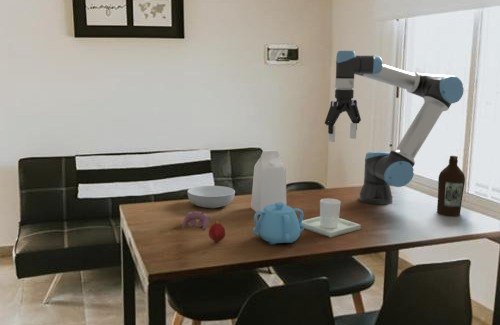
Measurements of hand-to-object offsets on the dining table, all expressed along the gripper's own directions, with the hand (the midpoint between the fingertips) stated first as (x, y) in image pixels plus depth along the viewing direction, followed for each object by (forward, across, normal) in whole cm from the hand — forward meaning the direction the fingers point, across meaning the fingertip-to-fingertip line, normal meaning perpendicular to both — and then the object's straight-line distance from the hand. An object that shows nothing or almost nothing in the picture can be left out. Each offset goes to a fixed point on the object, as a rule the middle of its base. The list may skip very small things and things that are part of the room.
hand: (342, 140), depth 227 cm
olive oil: (+32, +36, -30) cm, 57 cm away
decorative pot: (+31, -46, -11) cm, 57 cm away
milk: (+31, -24, +20) cm, 43 cm away
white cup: (+30, -21, -12) cm, 39 cm away
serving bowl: (+30, -39, +40) cm, 64 cm away
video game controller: (+30, -62, +19) cm, 71 cm away
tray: (+31, -21, -12) cm, 39 cm away
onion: (+30, -66, 0) cm, 73 cm away
